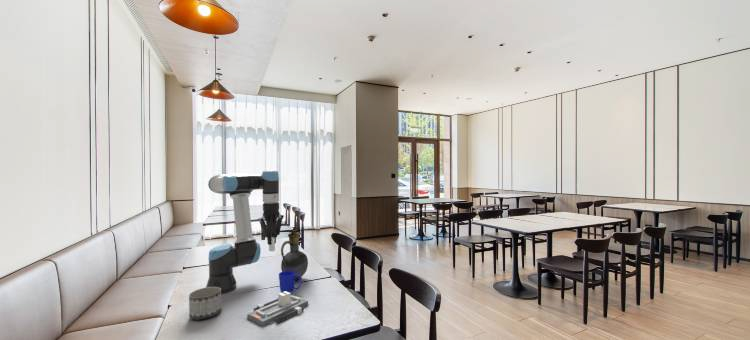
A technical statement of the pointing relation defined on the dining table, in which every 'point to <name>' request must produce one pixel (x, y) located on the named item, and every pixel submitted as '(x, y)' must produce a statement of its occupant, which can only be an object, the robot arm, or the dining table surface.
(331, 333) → the dining table surface
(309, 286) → the dining table surface
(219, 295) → the planter
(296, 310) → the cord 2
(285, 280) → the mug
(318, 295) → the dining table surface
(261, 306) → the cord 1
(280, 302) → the toggle
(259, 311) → the panel
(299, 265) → the pitcher
